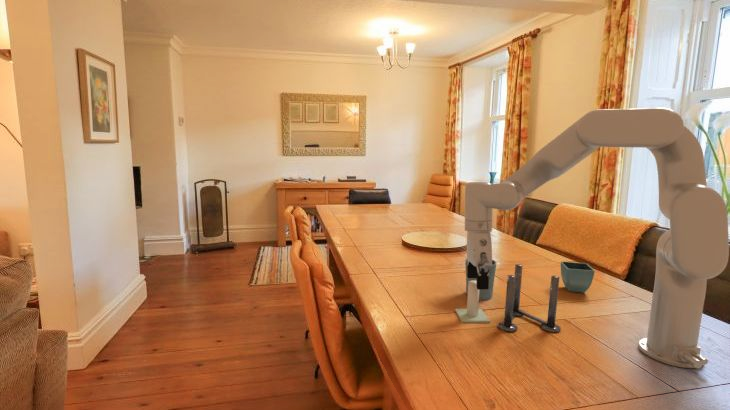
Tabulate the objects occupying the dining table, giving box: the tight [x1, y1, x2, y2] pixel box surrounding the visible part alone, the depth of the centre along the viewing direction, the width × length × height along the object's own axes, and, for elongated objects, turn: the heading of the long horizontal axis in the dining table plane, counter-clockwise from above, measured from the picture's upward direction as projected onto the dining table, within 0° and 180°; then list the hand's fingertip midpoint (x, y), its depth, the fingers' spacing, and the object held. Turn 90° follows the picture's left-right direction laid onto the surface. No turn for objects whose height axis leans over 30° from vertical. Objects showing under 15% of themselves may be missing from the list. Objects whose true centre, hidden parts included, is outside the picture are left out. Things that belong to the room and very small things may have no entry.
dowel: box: [466, 280, 480, 317], centre depth 113 cm, size 3×3×10 cm
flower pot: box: [560, 261, 596, 293], centre depth 136 cm, size 9×9×9 cm
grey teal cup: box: [465, 258, 498, 301], centre depth 130 cm, size 10×10×12 cm
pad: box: [455, 308, 491, 324], centre depth 114 cm, size 8×8×1 cm
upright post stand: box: [497, 263, 562, 334], centre depth 111 cm, size 15×17×15 cm
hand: (477, 283), depth 112 cm, fingers open, 9 cm apart
